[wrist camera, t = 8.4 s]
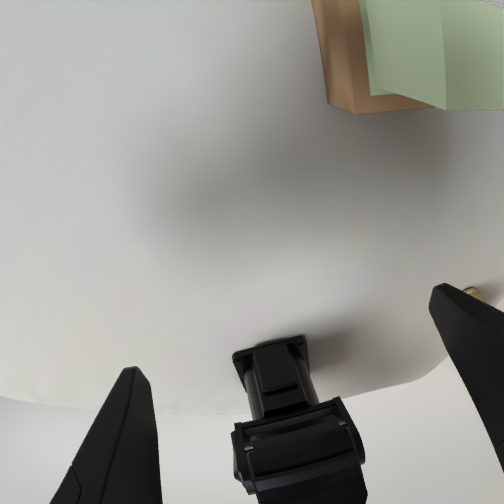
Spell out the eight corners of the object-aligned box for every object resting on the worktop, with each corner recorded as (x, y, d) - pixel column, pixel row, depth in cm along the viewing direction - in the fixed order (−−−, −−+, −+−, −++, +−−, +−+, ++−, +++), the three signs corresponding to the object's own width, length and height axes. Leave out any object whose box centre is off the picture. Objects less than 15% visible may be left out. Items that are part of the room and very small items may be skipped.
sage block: (444, 85, 13) (514, 109, 9) (376, 87, 13) (446, 110, 9) (437, 7, 11) (510, 10, 6) (364, -2, 10) (436, -12, 6)
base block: (424, 94, 17) (460, 106, 14) (328, 103, 16) (356, 115, 14) (413, -7, 13) (450, -10, 10) (308, -13, 12) (335, -26, 10)
